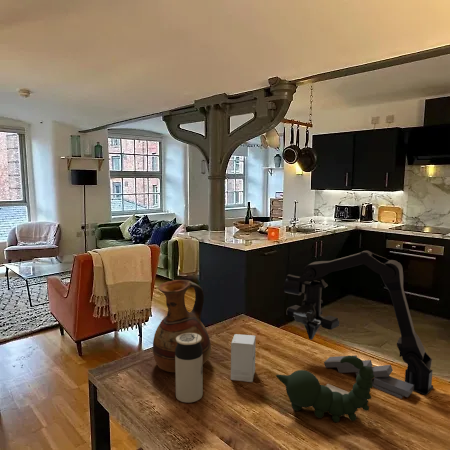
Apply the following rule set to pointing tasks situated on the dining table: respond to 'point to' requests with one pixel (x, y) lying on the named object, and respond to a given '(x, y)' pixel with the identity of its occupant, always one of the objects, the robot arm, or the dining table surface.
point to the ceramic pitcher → (179, 323)
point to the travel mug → (189, 367)
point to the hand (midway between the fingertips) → (310, 339)
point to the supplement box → (243, 357)
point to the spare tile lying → (336, 389)
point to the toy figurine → (329, 392)
